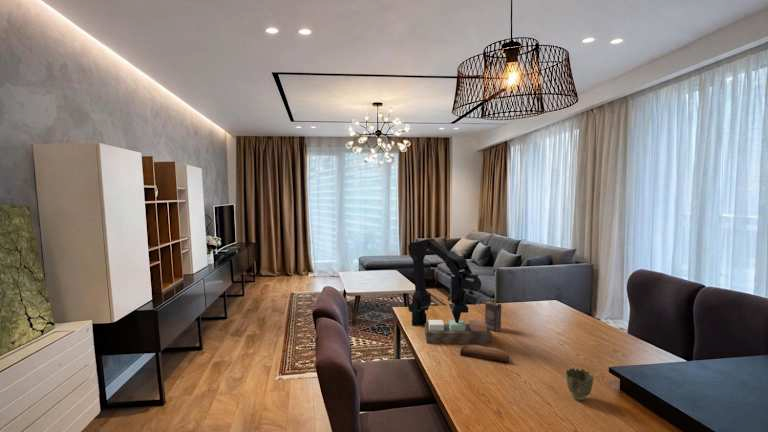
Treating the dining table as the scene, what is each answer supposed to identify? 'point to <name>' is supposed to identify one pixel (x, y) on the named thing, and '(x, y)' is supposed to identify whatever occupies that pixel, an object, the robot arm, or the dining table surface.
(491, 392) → the dining table surface
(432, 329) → the key cream
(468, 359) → the dining table surface
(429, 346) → the dining table surface
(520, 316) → the dining table surface
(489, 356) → the sunglasses case
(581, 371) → the cup
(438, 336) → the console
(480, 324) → the key terracotta
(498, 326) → the box
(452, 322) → the key sage
